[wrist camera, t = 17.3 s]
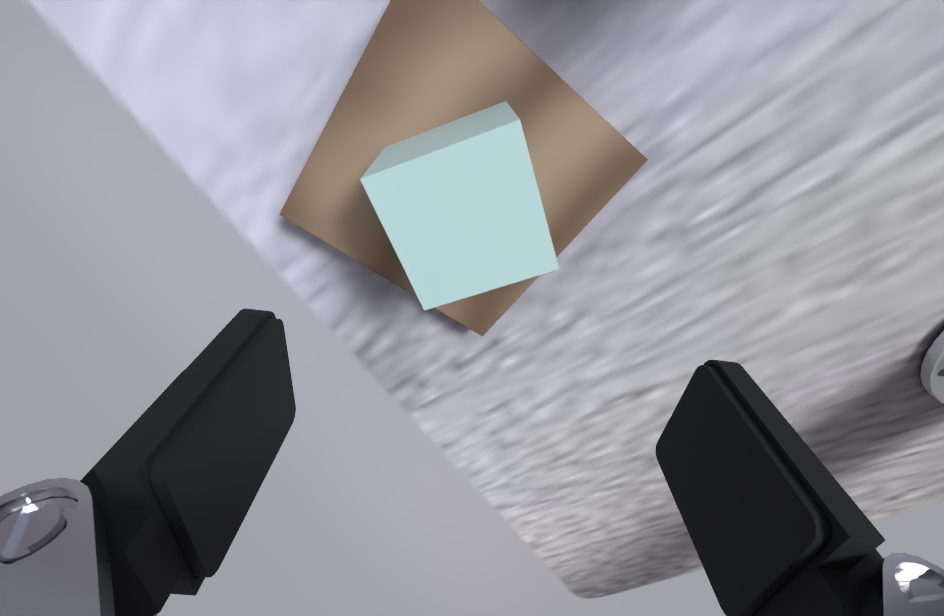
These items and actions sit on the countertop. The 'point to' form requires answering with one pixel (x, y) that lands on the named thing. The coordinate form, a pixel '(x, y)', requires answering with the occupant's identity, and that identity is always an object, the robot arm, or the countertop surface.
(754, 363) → the countertop surface
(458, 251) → the pale blue cube
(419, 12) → the wooden peg base
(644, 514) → the countertop surface
